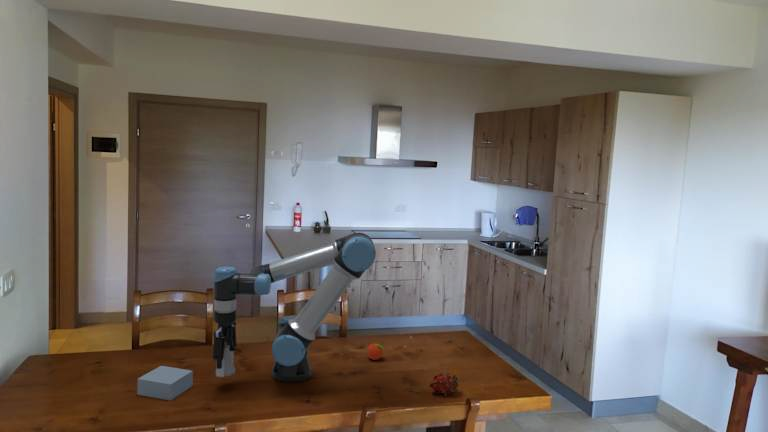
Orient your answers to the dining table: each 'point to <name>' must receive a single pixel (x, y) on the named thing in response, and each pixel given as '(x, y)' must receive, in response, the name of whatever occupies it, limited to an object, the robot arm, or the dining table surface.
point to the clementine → (374, 351)
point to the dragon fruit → (444, 383)
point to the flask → (228, 362)
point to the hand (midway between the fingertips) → (225, 372)
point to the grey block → (165, 382)
